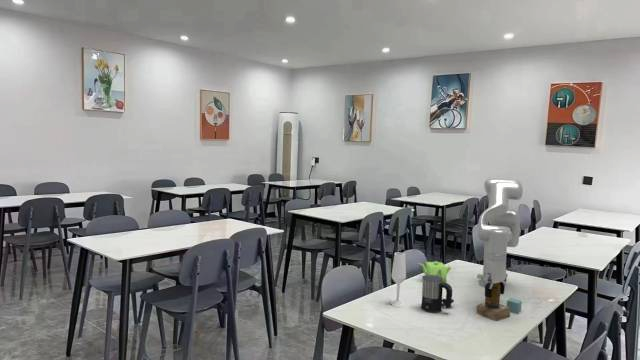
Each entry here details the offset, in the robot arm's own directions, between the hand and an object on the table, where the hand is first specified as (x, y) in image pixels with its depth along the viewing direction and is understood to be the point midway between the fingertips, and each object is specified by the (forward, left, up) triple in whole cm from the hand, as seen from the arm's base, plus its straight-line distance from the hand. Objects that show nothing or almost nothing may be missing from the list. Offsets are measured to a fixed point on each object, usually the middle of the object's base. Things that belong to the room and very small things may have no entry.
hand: (494, 295), depth 196 cm
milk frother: (-19, -15, -9) cm, 26 cm away
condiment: (0, 0, -5) cm, 5 cm away
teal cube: (+2, +13, -9) cm, 16 cm away
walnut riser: (0, 0, -9) cm, 9 cm away
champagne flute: (-32, -28, -9) cm, 43 cm away
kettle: (-46, +15, -9) cm, 49 cm away
